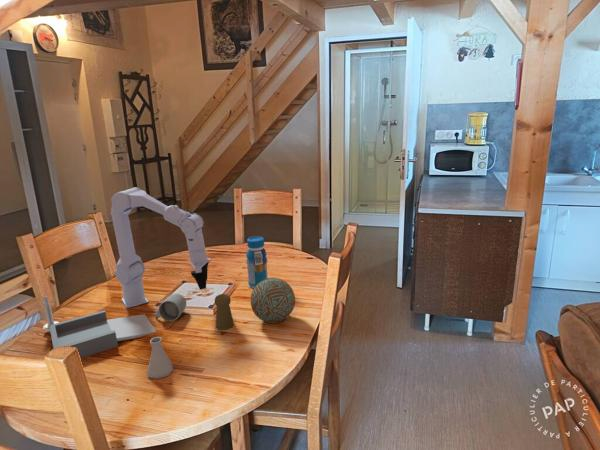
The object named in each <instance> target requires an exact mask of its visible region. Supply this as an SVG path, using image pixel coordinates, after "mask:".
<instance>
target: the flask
mask: <svg viewBox="0 0 600 450" xmlns="http://www.w3.org/2000/svg"><path fill="white" fill-rule="evenodd" d="M162 341H163V338H162V337H161V336H154V337H152V338H151V339H150V340H149V343H150V345H151V353H150V359H149V363H148V366H147V371H146V373H147V378H148V379H156V380H157V379H162V378H165V377H168V376H170V374H171V373H172V372H173V371H174V365H173V362H172V361H171V360H170V358H169V357H168V355H167V353H166V351H165V350H164V347H163V345H162Z"/></svg>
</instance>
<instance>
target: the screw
mask: <svg viewBox="0 0 600 450" xmlns="http://www.w3.org/2000/svg"><path fill="white" fill-rule="evenodd" d="M42 301H43V308H44V309H43V310H44V313H45V318H46V321H47V323H46V324H44V325H43V326H42V328H43V330H45V331H47V333H49V334H51V332H50V327H49V325H52V324H56V323H60V321H55V320H54V316H53V313H52V308H51V303H50V301H49V299H48V296H47V295H44V296H42Z"/></svg>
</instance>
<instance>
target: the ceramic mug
mask: <svg viewBox="0 0 600 450" xmlns="http://www.w3.org/2000/svg"><path fill="white" fill-rule="evenodd" d="M186 307H187V299H186V298H185V297H184V296H183V295H182V294H180V293H173V294H171V295H169V296H168V297H167V298H166V299H165V300H164V301H162V302H161V303H160V304H159V307H158V310H156V311H155V312H154V316H155V317H156V318H161V319H163V321H167V322H175V321H176V320H178V318H180V316H181V315H182V313H183V312H184V311H185V310H186Z"/></svg>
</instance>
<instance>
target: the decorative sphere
mask: <svg viewBox="0 0 600 450" xmlns="http://www.w3.org/2000/svg"><path fill="white" fill-rule="evenodd" d="M295 304H296V296H295V291H294V290H293V287H292V286H291V285H290V284H289V283H288V282H286V281H285V280H283V279H281V278H278V277H268V278H267V279H265V280H263V281H261V282H259V283H258V284H257V285H256V286H255V288H252V291H251V294H250V306H251V309H252V312H253V313H254V315H255V316H256V317H257V318H258V319H259V320H261V321H263V322H265V323H269V324H276V323H280V322H283V321H285V320H286V319H288V318H289V317H290V315H291V314H292V313H293V311H294V308H295Z"/></svg>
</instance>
